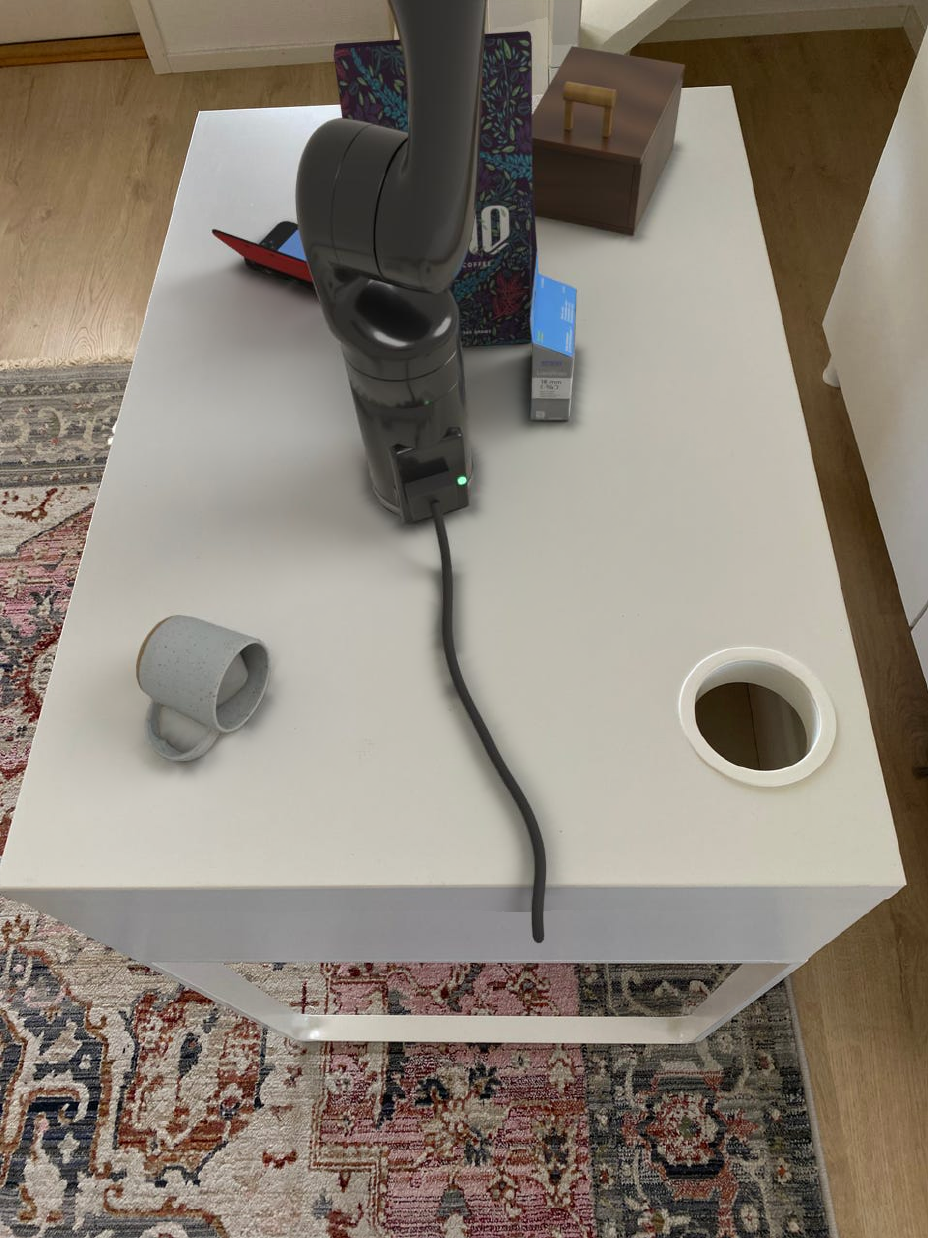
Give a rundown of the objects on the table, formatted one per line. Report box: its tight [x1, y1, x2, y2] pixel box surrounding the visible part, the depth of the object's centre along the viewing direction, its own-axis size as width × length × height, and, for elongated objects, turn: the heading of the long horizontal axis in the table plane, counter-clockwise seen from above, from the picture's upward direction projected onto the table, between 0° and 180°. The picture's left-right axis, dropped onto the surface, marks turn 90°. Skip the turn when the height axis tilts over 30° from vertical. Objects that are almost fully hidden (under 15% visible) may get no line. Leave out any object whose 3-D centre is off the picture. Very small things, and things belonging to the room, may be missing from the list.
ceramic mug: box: [135, 614, 272, 762], centre depth 73 cm, size 11×8×8 cm
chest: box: [532, 72, 685, 237], centre depth 102 cm, size 16×13×9 cm
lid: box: [532, 45, 686, 165], centre depth 95 cm, size 16×13×5 cm
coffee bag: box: [333, 30, 538, 347], centre depth 84 cm, size 8×16×28 cm, turn 91°
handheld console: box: [211, 220, 316, 292], centre depth 98 cm, size 12×11×7 cm
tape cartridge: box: [529, 251, 577, 422], centre depth 86 cm, size 9×4×12 cm, turn 174°
